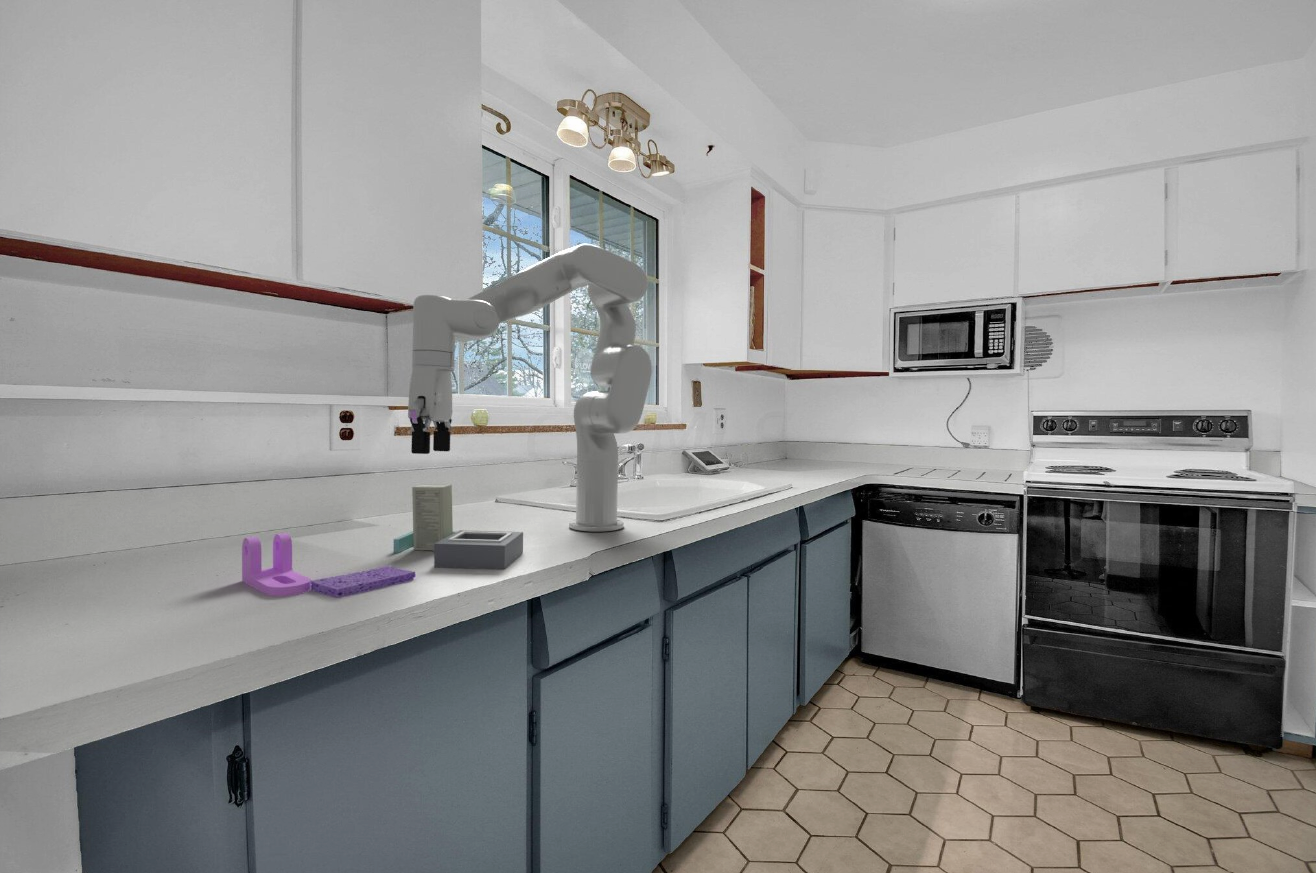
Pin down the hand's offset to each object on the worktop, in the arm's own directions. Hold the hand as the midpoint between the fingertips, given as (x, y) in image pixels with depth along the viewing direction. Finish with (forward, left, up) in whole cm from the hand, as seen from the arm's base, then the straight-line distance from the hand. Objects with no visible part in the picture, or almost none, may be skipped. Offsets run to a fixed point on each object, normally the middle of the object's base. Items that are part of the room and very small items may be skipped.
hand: (431, 452), depth 116 cm
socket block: (+8, +12, -19) cm, 24 cm away
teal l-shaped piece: (0, 0, -19) cm, 18 cm away
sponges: (+25, 0, -19) cm, 31 cm away
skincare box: (0, 0, -19) cm, 19 cm away
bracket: (+27, -12, -19) cm, 35 cm away
